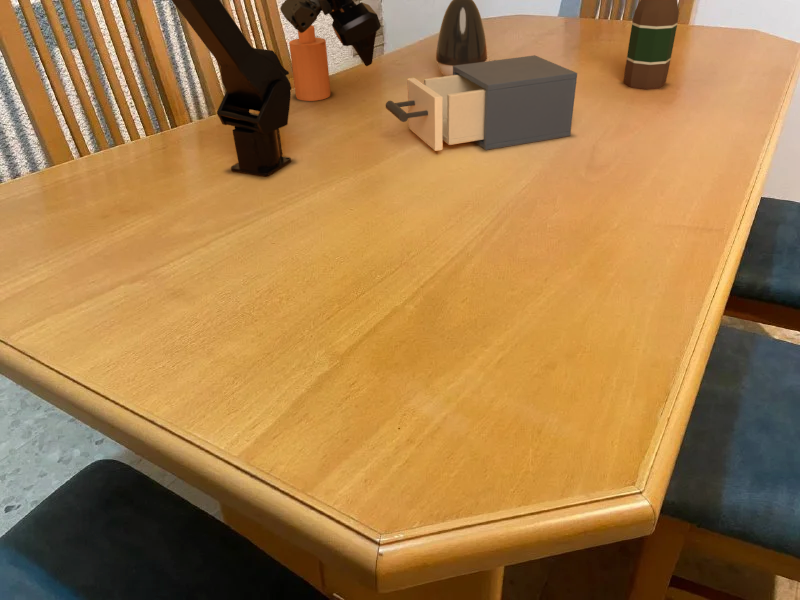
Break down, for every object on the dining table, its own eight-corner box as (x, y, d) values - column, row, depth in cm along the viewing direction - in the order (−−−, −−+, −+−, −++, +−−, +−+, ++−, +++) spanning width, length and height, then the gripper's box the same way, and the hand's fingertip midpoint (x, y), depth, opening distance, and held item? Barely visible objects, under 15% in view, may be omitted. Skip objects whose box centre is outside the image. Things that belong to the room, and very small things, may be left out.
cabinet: (485, 150, 96) (488, 85, 90) (452, 125, 106) (452, 65, 100) (570, 136, 99) (577, 72, 94) (530, 113, 109) (535, 55, 104)
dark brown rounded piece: (485, 70, 134) (488, -9, 126) (486, 83, 126) (489, -1, 117) (437, 71, 135) (437, -8, 127) (434, 84, 127) (434, 1, 118)
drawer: (406, 155, 92) (404, 101, 88) (382, 132, 102) (379, 82, 97) (517, 137, 97) (520, 85, 93) (484, 116, 106) (486, 68, 102)
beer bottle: (623, 89, 119) (646, -58, 106) (621, 78, 126) (643, -62, 112) (667, 90, 118) (696, -59, 104) (663, 79, 124) (690, -63, 111)
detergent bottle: (318, 102, 120) (311, 31, 113) (289, 99, 122) (280, 29, 115) (336, 92, 124) (330, 24, 118) (308, 89, 127) (300, 22, 120)
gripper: (257, -40, 97) (299, 48, 109) (290, 12, 85) (333, 103, 98) (321, -74, 97) (356, 18, 109) (363, -27, 85) (397, 69, 98)
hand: (359, 51), depth 103 cm, fingers open, 9 cm apart
